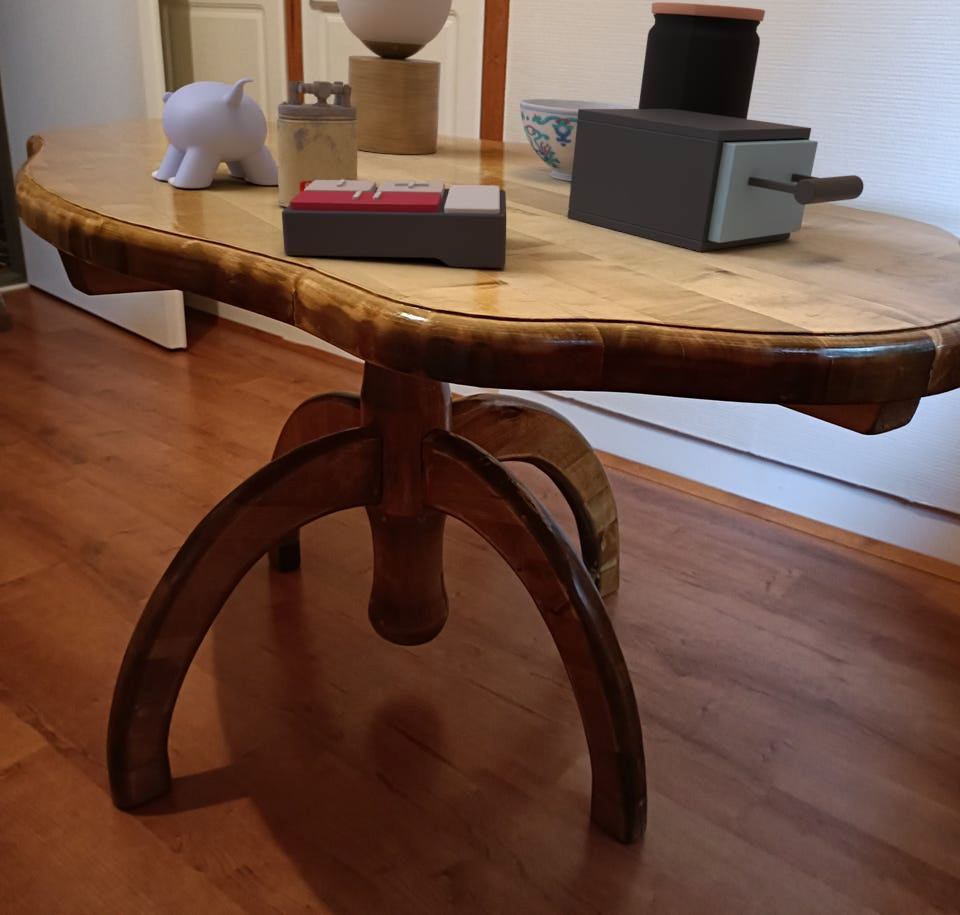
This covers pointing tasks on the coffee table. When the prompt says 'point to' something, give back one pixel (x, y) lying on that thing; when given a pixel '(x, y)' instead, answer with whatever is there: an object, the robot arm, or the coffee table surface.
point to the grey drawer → (770, 188)
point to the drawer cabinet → (658, 171)
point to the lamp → (395, 73)
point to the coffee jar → (701, 58)
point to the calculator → (399, 221)
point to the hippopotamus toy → (214, 136)
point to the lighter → (315, 138)
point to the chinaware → (557, 129)
